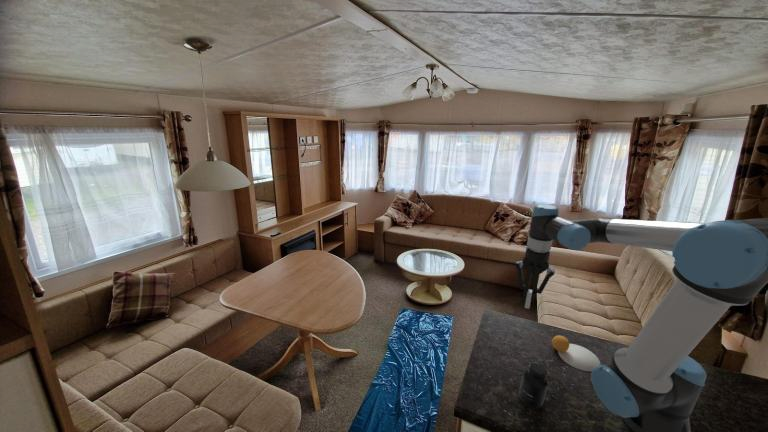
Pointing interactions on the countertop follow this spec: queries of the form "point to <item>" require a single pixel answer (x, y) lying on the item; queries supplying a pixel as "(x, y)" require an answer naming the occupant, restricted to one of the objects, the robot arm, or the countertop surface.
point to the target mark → (580, 358)
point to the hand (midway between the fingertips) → (527, 306)
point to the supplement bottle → (533, 385)
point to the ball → (560, 343)
